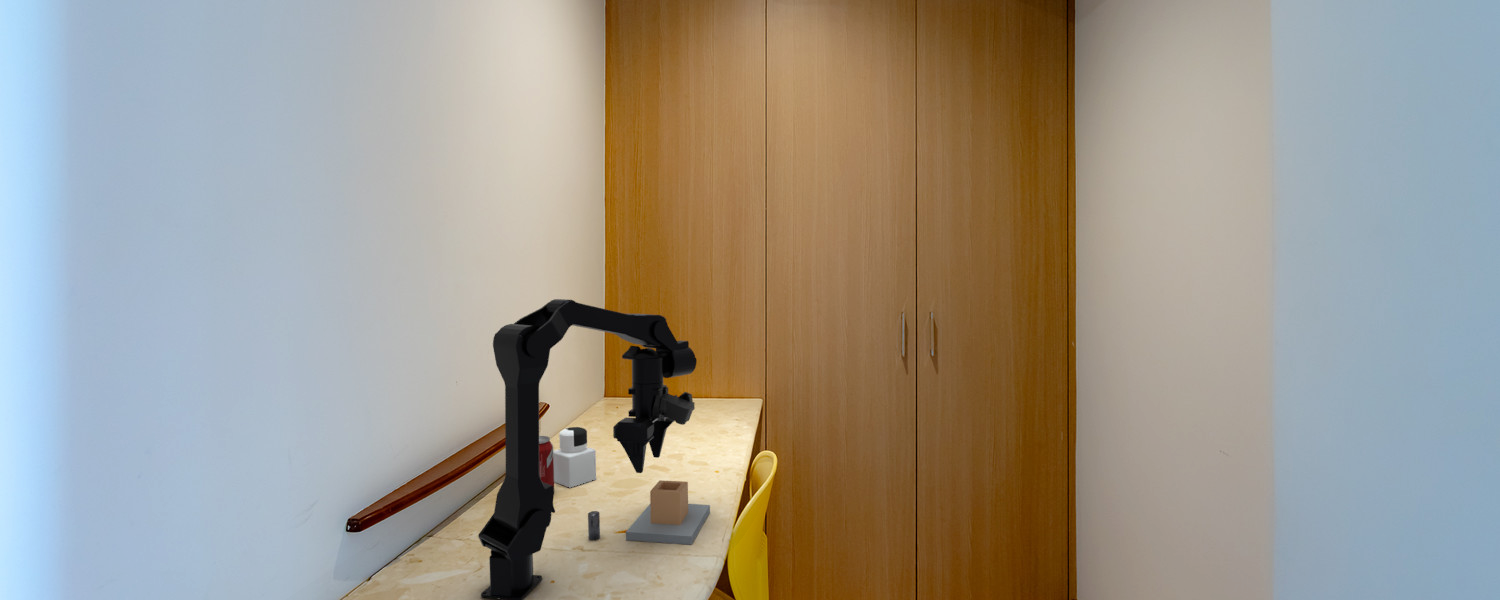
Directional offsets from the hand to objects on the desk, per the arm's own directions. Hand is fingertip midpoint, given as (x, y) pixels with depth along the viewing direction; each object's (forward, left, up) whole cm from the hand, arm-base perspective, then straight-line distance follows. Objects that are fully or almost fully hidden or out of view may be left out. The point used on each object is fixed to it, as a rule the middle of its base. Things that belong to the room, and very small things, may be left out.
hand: (648, 464), depth 110 cm
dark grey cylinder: (-6, +8, -12) cm, 16 cm away
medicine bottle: (+21, +25, -12) cm, 35 cm away
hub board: (+1, -4, -12) cm, 12 cm away
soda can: (+12, +29, -12) cm, 34 cm away
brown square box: (+1, -4, -10) cm, 11 cm away
